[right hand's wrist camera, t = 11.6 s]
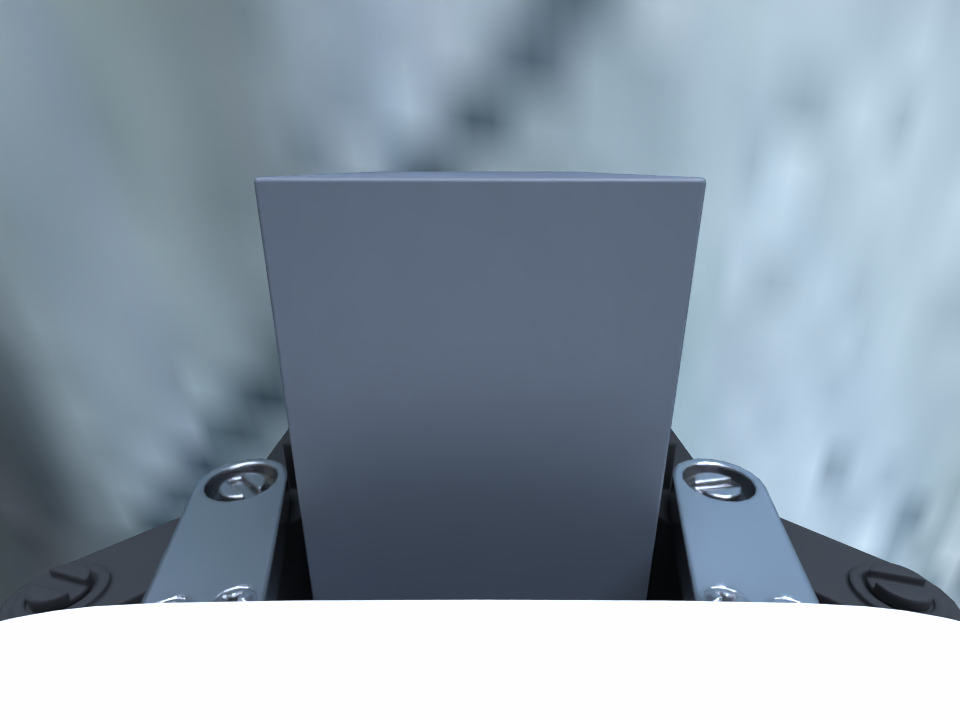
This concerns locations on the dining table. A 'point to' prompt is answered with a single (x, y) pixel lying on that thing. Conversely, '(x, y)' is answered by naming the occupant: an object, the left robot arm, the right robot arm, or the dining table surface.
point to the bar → (479, 375)
